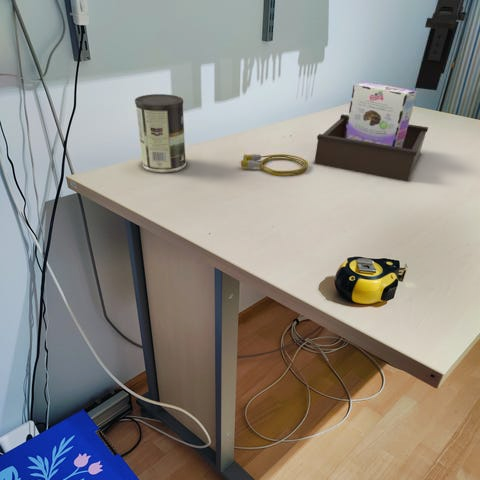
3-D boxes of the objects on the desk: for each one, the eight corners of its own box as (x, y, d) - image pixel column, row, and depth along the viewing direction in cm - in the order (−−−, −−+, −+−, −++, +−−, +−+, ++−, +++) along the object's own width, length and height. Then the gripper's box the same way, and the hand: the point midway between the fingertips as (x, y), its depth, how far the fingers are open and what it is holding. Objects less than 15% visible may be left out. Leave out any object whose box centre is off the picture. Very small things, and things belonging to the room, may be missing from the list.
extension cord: (253, 153, 108) (253, 145, 107) (312, 163, 104) (314, 155, 103) (235, 168, 99) (235, 159, 98) (299, 180, 95) (300, 171, 94)
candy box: (399, 162, 107) (419, 90, 96) (387, 168, 103) (407, 93, 93) (352, 149, 114) (366, 80, 103) (340, 153, 110) (353, 83, 100)
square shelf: (420, 153, 113) (428, 127, 109) (408, 181, 97) (416, 152, 93) (337, 139, 120) (342, 114, 116) (313, 163, 104) (317, 135, 100)
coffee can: (179, 155, 105) (175, 92, 96) (191, 170, 98) (189, 103, 89) (137, 159, 102) (130, 94, 93) (147, 175, 94) (140, 106, 85)
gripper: (459, -118, 57) (413, 64, 70) (448, -162, 39) (389, 93, 52) (521, -120, 54) (461, 69, 68) (540, -167, 37) (454, 101, 50)
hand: (430, 80), depth 60 cm, fingers open, 13 cm apart
